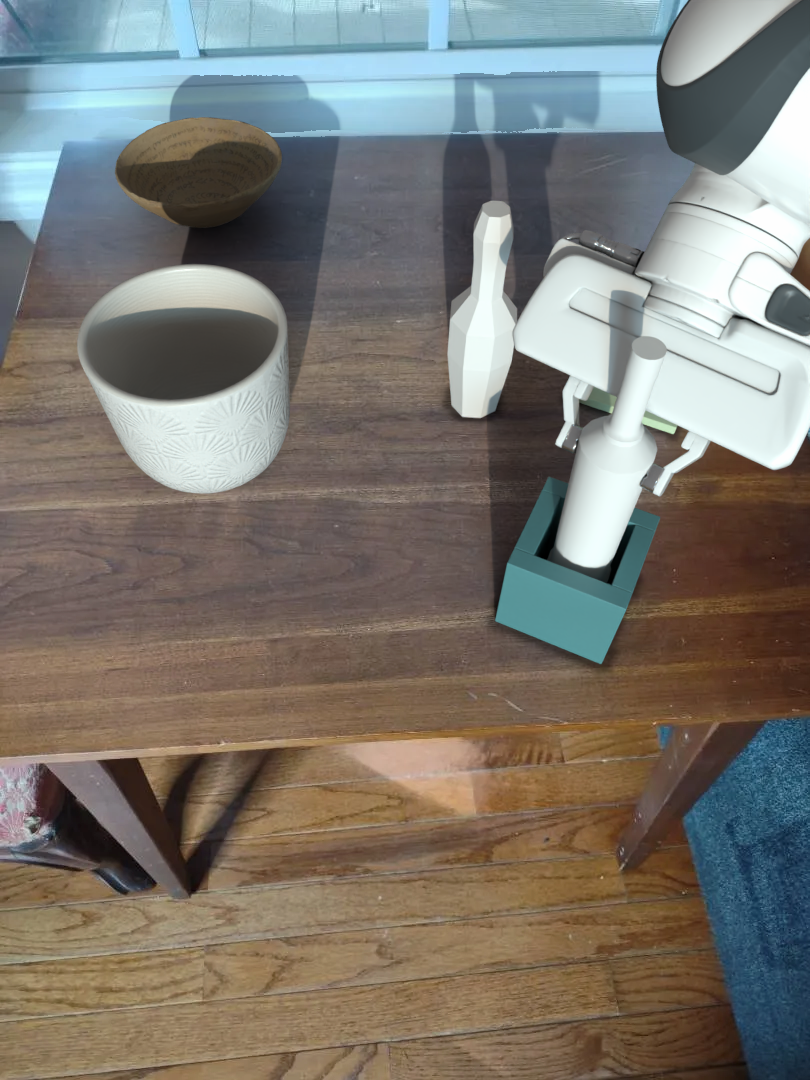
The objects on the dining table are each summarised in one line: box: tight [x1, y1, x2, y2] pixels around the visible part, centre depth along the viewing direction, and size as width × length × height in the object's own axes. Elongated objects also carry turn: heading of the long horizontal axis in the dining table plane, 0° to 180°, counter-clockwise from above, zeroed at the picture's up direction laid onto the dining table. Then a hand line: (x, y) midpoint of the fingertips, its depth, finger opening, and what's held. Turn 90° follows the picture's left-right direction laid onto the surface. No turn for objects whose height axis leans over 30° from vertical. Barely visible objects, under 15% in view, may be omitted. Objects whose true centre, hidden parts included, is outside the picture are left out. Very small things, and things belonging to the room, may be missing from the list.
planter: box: [76, 263, 291, 495], centre depth 77 cm, size 17×17×15 cm
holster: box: [494, 476, 661, 665], centre depth 70 cm, size 9×9×9 cm
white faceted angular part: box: [447, 200, 518, 419], centre depth 78 cm, size 6×6×22 cm
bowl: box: [114, 116, 283, 229], centre depth 100 cm, size 18×18×8 cm
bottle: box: [546, 336, 667, 584], centre depth 61 cm, size 5×5×25 cm
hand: (607, 470), depth 59 cm, fingers closed on bottle, 5 cm apart
